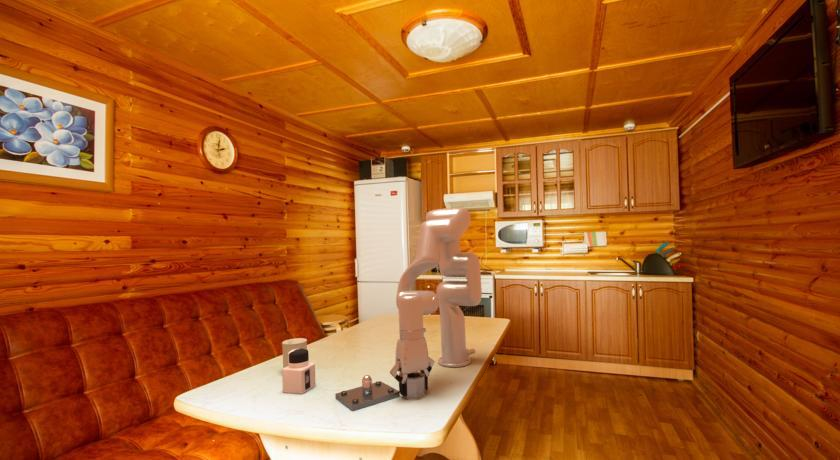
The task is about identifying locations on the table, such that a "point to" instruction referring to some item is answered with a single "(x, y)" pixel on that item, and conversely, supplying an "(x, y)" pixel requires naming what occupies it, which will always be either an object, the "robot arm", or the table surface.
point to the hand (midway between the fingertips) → (414, 391)
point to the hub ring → (415, 385)
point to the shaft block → (366, 394)
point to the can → (292, 347)
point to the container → (298, 372)
